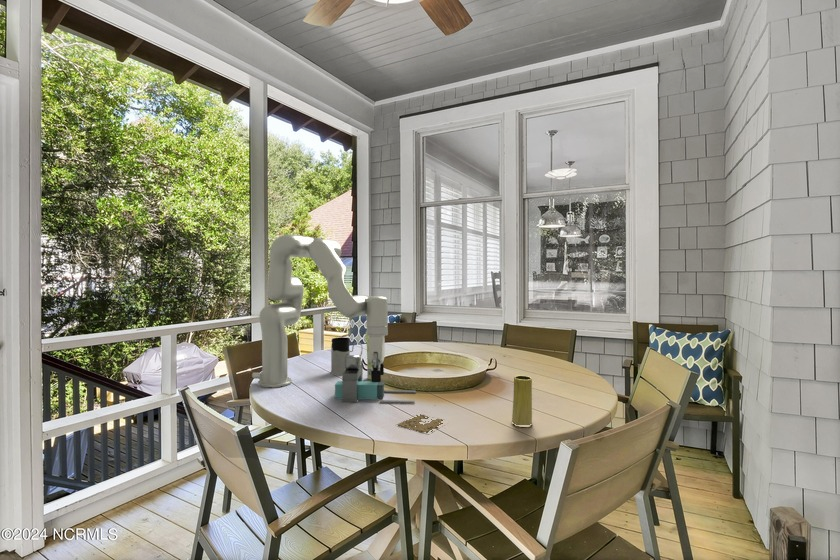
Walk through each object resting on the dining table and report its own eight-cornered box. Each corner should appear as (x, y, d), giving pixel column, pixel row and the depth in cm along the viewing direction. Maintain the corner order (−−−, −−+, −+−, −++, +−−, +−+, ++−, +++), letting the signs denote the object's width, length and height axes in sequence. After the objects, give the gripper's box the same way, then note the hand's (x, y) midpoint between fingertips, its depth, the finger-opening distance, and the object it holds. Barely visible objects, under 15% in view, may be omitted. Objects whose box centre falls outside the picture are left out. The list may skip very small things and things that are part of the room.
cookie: (417, 415, 139) (417, 412, 139) (450, 423, 132) (450, 420, 132) (394, 426, 129) (394, 423, 129) (428, 436, 122) (428, 432, 122)
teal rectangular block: (334, 398, 154) (335, 384, 154) (337, 394, 158) (337, 381, 158) (382, 399, 154) (382, 385, 153) (384, 395, 158) (384, 381, 158)
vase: (509, 420, 134) (510, 375, 133) (528, 420, 134) (529, 374, 134) (515, 428, 127) (516, 380, 127) (535, 428, 128) (536, 380, 127)
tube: (376, 376, 185) (376, 330, 184) (383, 378, 181) (383, 332, 180) (364, 378, 181) (365, 331, 180) (371, 380, 177) (371, 333, 176)
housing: (342, 402, 149) (342, 359, 149) (349, 391, 162) (349, 351, 162) (356, 402, 149) (356, 359, 149) (362, 391, 162) (362, 351, 162)
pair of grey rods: (379, 403, 149) (379, 401, 149) (383, 391, 162) (383, 390, 162) (414, 403, 149) (414, 402, 149) (415, 392, 162) (415, 390, 162)
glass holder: (334, 370, 194) (334, 336, 194) (364, 371, 192) (365, 337, 192) (327, 375, 186) (327, 340, 185) (359, 376, 184) (359, 341, 183)
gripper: (370, 327, 163) (370, 372, 164) (363, 334, 146) (363, 384, 147) (389, 327, 163) (390, 372, 164) (385, 334, 146) (385, 384, 146)
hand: (377, 378), depth 155 cm, fingers open, 9 cm apart
